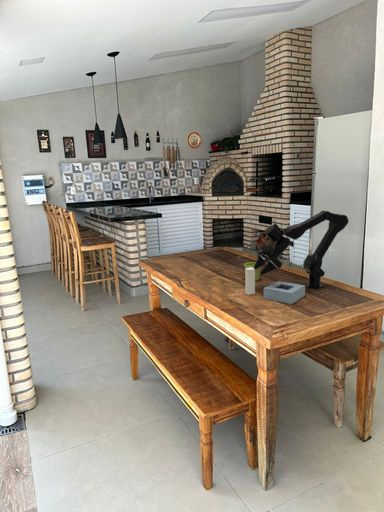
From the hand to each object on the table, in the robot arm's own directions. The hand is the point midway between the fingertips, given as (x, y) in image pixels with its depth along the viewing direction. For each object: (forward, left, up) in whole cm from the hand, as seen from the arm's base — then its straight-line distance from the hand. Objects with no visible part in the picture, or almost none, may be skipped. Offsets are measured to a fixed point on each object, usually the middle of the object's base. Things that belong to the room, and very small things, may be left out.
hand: (257, 271), depth 187 cm
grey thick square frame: (-1, +14, -10) cm, 17 cm away
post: (+3, -2, -10) cm, 11 cm away
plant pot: (-18, -13, -11) cm, 25 cm away
